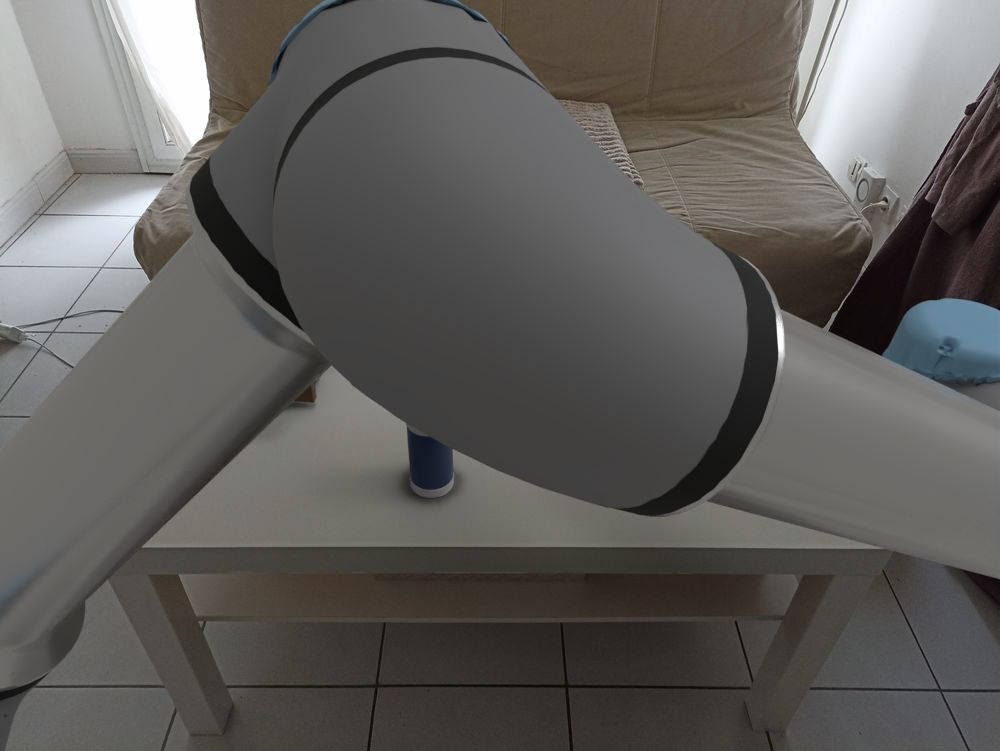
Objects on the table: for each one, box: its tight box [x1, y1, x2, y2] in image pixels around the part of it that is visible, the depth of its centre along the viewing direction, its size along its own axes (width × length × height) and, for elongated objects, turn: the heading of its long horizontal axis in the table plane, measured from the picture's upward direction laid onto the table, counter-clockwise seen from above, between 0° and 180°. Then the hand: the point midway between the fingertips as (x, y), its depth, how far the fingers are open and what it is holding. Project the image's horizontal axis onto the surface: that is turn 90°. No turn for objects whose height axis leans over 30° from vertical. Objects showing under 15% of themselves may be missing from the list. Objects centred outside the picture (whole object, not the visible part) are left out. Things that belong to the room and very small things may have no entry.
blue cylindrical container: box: [405, 423, 455, 499], centre depth 78 cm, size 5×5×10 cm
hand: (518, 373), depth 68 cm, fingers open, 13 cm apart
